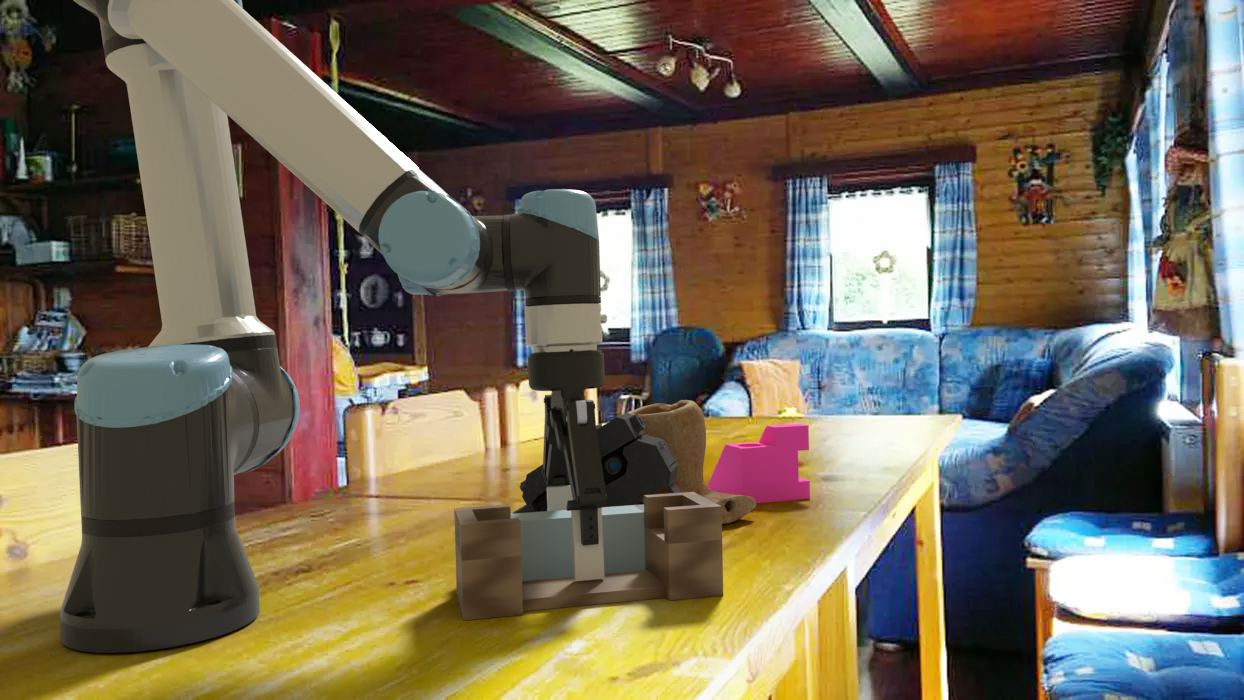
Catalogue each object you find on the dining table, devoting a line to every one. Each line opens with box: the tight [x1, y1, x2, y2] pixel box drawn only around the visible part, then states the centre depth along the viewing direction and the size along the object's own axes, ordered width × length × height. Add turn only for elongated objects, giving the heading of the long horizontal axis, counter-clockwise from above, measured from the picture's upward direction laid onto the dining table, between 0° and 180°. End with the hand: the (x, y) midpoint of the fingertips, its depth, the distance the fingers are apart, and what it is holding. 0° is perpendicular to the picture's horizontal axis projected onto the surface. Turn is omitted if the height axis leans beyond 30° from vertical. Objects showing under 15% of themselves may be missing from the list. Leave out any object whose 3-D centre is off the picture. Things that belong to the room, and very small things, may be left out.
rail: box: [511, 504, 646, 581], centre depth 93 cm, size 18×4×6 cm, turn 104°
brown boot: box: [627, 399, 757, 525], centre depth 118 cm, size 15×12×15 cm
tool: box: [511, 412, 681, 514], centre depth 107 cm, size 6×19×15 cm, turn 79°
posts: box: [453, 492, 724, 621], centre depth 85 cm, size 23×8×8 cm, turn 104°
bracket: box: [706, 423, 811, 504], centre depth 135 cm, size 12×10×10 cm
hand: (575, 563), depth 93 cm, fingers open, 13 cm apart
